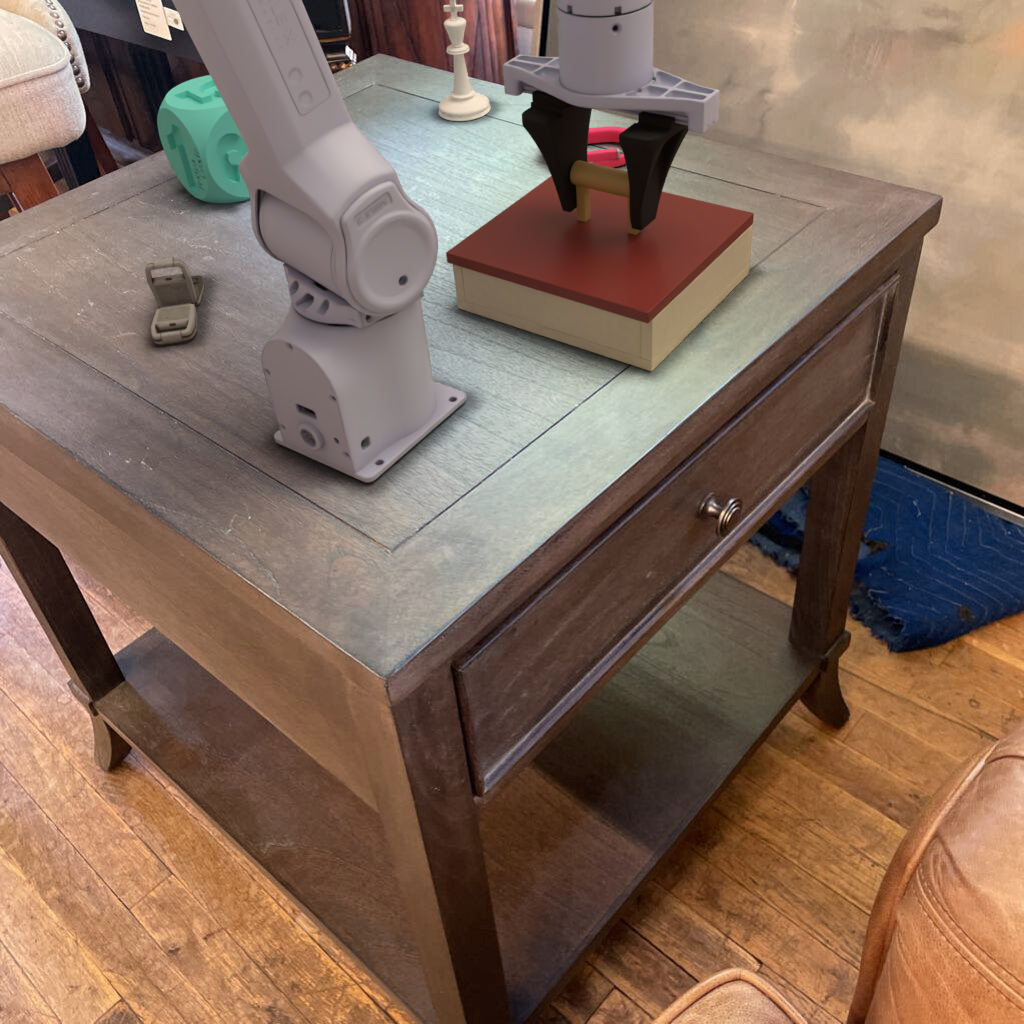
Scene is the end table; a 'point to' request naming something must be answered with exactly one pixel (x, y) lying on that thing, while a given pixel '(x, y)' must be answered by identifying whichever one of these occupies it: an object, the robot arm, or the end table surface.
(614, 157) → the fitness band
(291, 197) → the robot arm
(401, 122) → the end table surface
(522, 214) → the cover
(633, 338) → the hinged lid box
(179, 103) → the decorative dice
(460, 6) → the chess piece
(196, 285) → the strap clip
